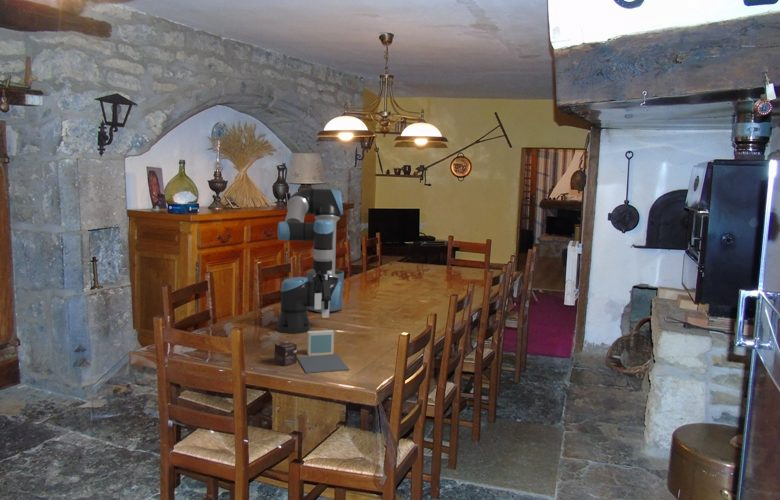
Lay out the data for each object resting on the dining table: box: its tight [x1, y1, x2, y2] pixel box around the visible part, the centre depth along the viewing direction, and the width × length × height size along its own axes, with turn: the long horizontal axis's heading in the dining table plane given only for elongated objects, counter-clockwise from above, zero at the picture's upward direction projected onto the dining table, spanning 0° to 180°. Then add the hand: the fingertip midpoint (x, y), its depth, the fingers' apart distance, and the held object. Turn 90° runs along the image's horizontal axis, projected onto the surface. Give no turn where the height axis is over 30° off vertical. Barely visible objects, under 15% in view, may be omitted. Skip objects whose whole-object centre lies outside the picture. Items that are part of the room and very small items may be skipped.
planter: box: [306, 268, 345, 314], centre depth 318 cm, size 19×19×20 cm
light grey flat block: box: [306, 329, 335, 356], centre depth 245 cm, size 3×10×9 cm, turn 109°
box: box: [274, 341, 298, 367], centre depth 232 cm, size 6×6×7 cm
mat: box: [297, 354, 350, 374], centre depth 233 cm, size 18×16×1 cm
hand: (321, 313), depth 243 cm, fingers open, 13 cm apart
